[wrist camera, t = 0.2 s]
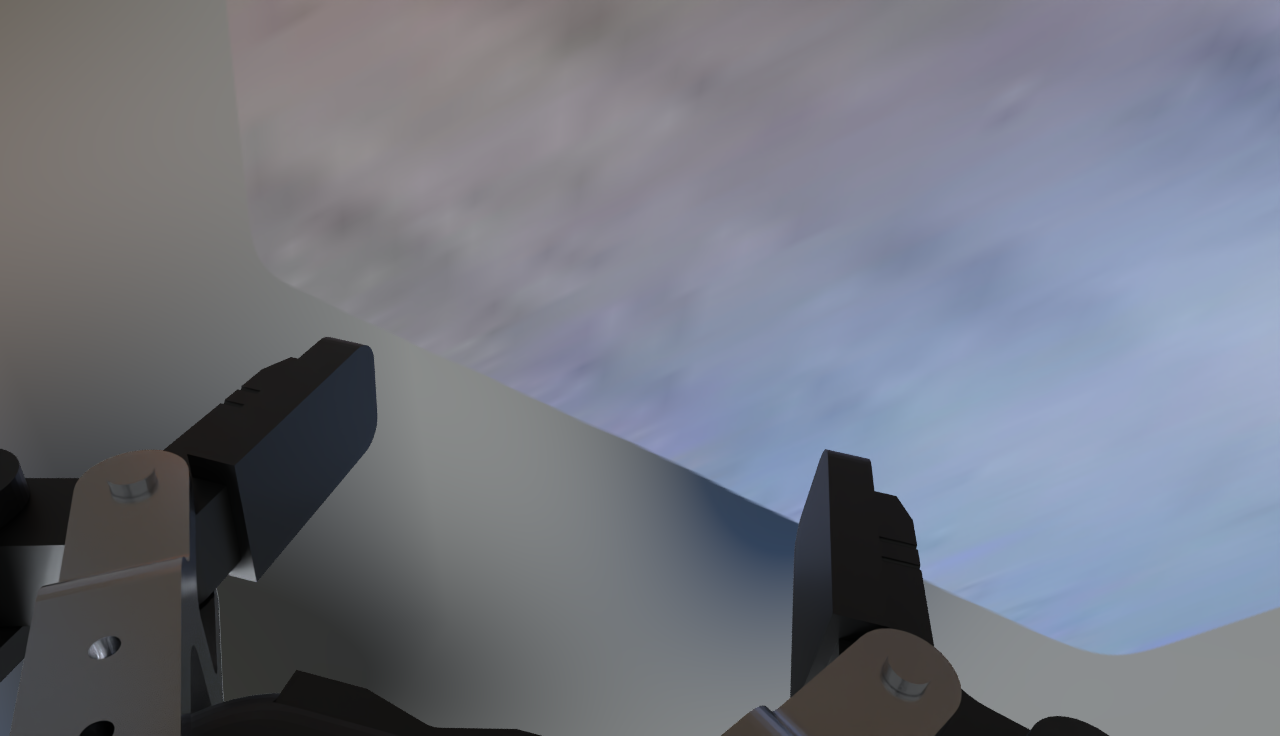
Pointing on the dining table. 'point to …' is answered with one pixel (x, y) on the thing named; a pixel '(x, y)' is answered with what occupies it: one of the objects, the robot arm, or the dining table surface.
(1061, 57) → the dining table surface
